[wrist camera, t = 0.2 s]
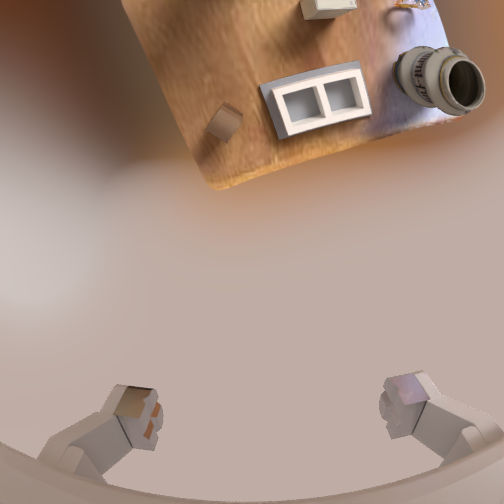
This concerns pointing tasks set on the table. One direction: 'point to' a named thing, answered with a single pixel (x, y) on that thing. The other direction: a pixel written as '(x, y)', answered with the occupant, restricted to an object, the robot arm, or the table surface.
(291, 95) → the slot rack
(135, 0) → the table surface
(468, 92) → the apothecary jar
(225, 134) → the walnut peg
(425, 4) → the ring
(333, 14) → the skincare box
